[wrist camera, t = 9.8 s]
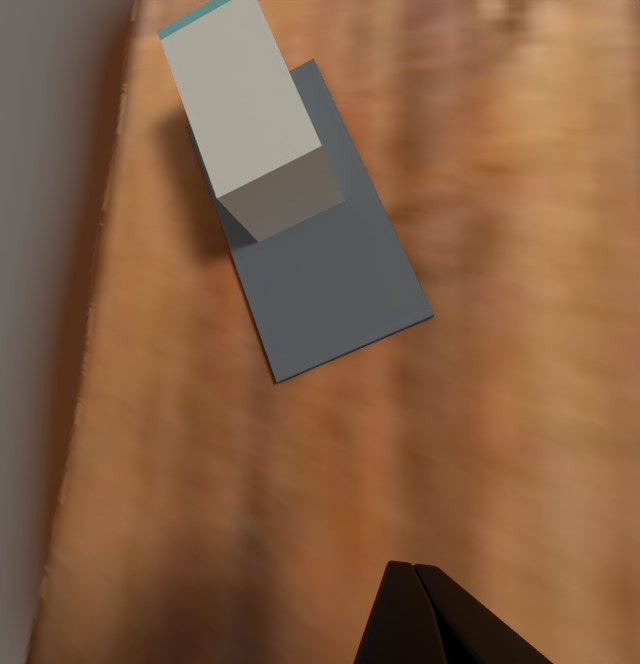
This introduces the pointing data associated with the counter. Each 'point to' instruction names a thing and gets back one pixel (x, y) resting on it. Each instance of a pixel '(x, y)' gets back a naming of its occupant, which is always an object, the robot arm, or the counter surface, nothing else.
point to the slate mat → (325, 259)
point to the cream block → (248, 117)
